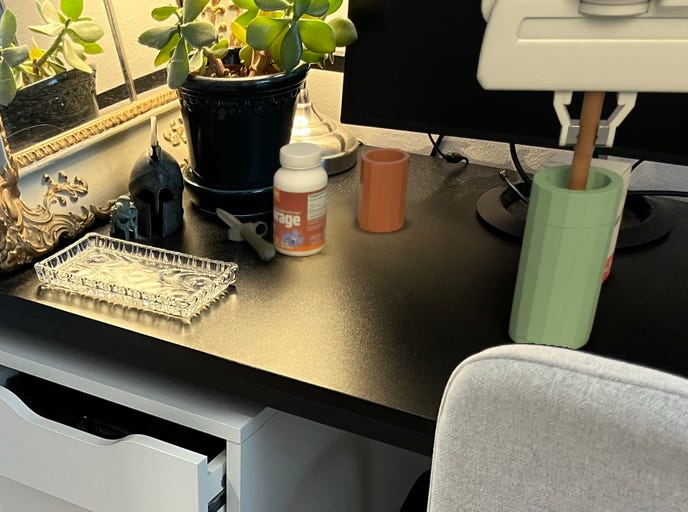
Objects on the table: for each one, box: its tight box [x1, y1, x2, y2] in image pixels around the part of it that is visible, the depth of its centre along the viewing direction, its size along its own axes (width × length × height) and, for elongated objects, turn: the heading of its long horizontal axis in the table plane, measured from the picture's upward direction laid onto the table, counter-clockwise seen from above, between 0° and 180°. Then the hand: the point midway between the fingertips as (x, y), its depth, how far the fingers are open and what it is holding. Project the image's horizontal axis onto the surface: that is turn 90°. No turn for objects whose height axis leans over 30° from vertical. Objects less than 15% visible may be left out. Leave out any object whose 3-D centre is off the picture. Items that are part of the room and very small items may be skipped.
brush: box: [567, 91, 606, 191], centre depth 92 cm, size 3×3×21 cm
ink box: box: [537, 152, 633, 284], centre depth 107 cm, size 9×5×12 cm, turn 56°
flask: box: [508, 164, 624, 350], centre depth 96 cm, size 8×8×15 cm
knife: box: [216, 207, 277, 262], centre depth 123 cm, size 19×2×5 cm
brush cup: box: [357, 147, 411, 234], centre depth 121 cm, size 6×6×8 cm
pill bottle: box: [273, 141, 329, 257], centre depth 116 cm, size 6×6×11 cm
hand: (585, 144), depth 89 cm, fingers closed on brush
